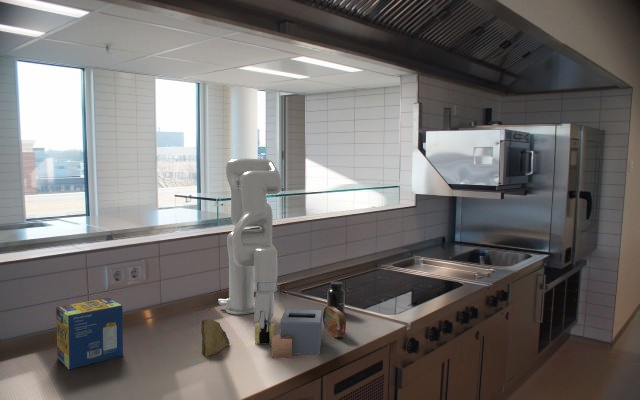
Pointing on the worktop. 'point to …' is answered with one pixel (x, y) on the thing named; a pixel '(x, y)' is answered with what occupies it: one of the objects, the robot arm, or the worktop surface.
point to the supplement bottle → (336, 296)
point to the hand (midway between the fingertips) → (265, 341)
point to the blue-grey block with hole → (303, 329)
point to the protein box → (89, 332)
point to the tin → (334, 321)
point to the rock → (212, 337)
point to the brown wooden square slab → (282, 347)
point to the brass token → (271, 332)
